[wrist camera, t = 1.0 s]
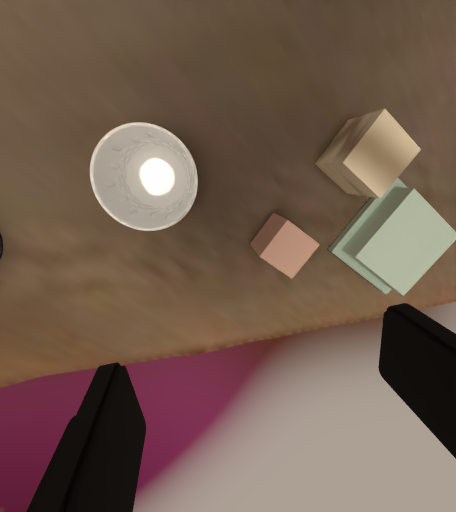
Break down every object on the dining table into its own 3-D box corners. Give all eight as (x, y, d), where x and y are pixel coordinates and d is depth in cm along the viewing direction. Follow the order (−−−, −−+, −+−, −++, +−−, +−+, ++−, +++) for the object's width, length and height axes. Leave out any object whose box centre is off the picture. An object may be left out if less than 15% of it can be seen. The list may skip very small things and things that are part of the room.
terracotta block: (273, 212, 32) (287, 219, 27) (301, 234, 33) (319, 244, 29) (249, 244, 33) (259, 256, 28) (277, 263, 34) (291, 278, 30)
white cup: (208, 186, 30) (217, 194, 20) (153, 224, 30) (138, 249, 21) (166, 122, 27) (154, 98, 18) (107, 165, 27) (64, 163, 18)
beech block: (347, 120, 30) (385, 108, 24) (379, 153, 31) (420, 149, 26) (314, 163, 31) (342, 162, 25) (347, 193, 32) (380, 198, 27)
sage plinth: (389, 174, 32) (415, 175, 29) (440, 227, 36) (469, 233, 32) (327, 249, 35) (344, 259, 31) (381, 291, 38) (402, 304, 34)
